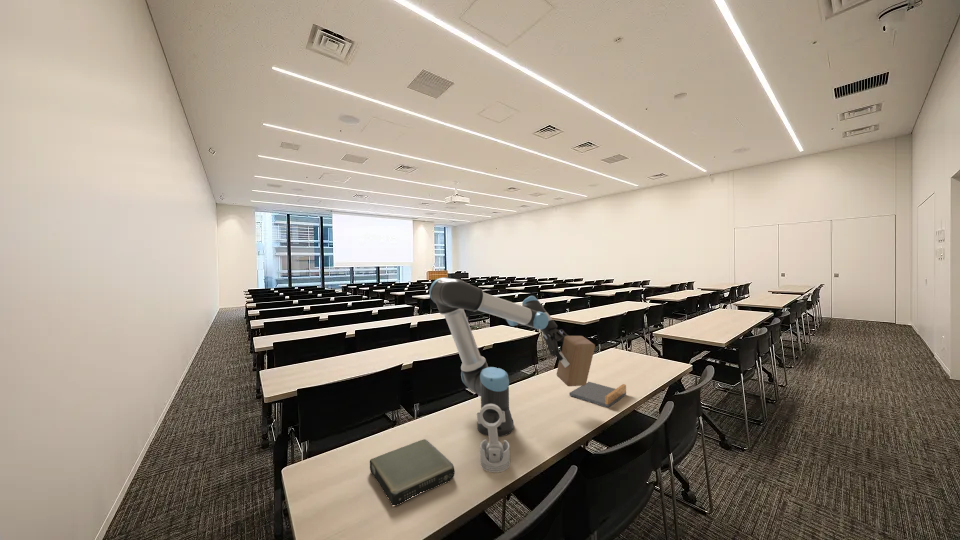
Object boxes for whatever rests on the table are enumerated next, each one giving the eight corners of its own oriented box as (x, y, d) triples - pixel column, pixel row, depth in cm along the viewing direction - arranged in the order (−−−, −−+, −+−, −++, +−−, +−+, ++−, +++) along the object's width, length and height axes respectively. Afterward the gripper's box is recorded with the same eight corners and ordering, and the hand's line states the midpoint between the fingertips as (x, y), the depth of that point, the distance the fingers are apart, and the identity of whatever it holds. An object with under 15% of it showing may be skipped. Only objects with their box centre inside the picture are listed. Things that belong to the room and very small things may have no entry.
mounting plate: (569, 395, 168) (569, 385, 168) (588, 384, 182) (588, 375, 182) (608, 407, 154) (608, 397, 154) (626, 394, 168) (626, 384, 168)
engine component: (509, 473, 110) (509, 455, 120) (508, 411, 109) (508, 398, 119) (476, 472, 111) (479, 454, 121) (475, 411, 110) (478, 398, 120)
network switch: (422, 447, 126) (421, 434, 126) (462, 476, 109) (462, 461, 109) (362, 476, 110) (361, 461, 110) (398, 515, 93) (398, 498, 93)
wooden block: (555, 375, 154) (564, 334, 150) (573, 374, 158) (582, 335, 154) (567, 387, 145) (577, 344, 141) (586, 386, 148) (596, 344, 144)
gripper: (555, 325, 170) (583, 361, 160) (526, 333, 153) (554, 373, 143) (564, 315, 166) (593, 352, 156) (535, 323, 149) (565, 364, 139)
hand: (575, 362), depth 149 cm, fingers closed on wooden block, 12 cm apart
